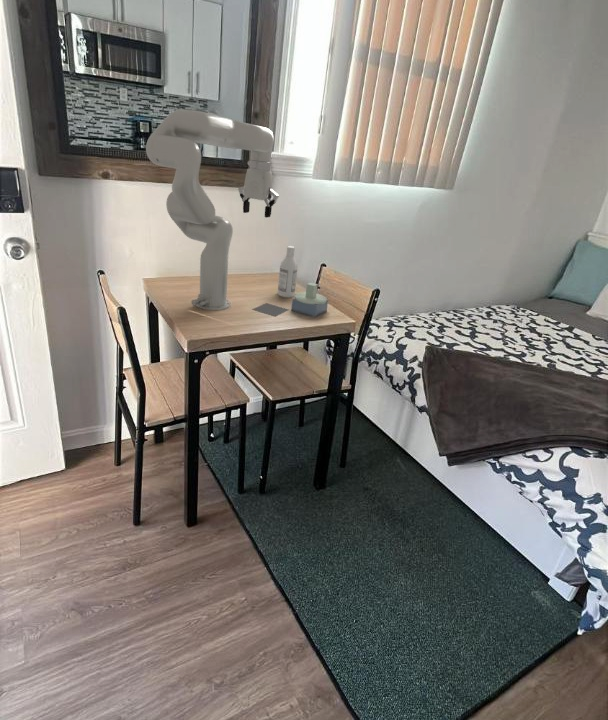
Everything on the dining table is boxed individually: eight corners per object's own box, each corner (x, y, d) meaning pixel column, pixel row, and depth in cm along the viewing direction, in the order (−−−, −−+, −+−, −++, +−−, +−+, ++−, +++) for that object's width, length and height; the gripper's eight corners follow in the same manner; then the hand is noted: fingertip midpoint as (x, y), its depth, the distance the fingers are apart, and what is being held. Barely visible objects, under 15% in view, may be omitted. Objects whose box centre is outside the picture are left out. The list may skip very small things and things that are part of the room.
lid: (317, 307, 162) (320, 291, 159) (288, 298, 166) (290, 283, 164) (331, 299, 172) (333, 284, 169) (303, 291, 176) (305, 277, 173)
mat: (275, 317, 161) (275, 316, 161) (251, 310, 165) (251, 309, 164) (288, 310, 169) (289, 309, 169) (266, 304, 173) (266, 302, 173)
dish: (314, 318, 165) (316, 305, 163) (291, 311, 169) (292, 298, 167) (326, 311, 173) (328, 299, 171) (303, 305, 177) (305, 293, 175)
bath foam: (292, 293, 189) (297, 245, 180) (296, 298, 183) (301, 249, 175) (275, 292, 187) (280, 244, 179) (279, 298, 181) (284, 248, 173)
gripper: (234, 163, 165) (232, 211, 172) (275, 169, 158) (270, 219, 166) (246, 163, 171) (243, 210, 178) (285, 169, 164) (281, 218, 172)
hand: (256, 214), depth 172 cm, fingers open, 9 cm apart
